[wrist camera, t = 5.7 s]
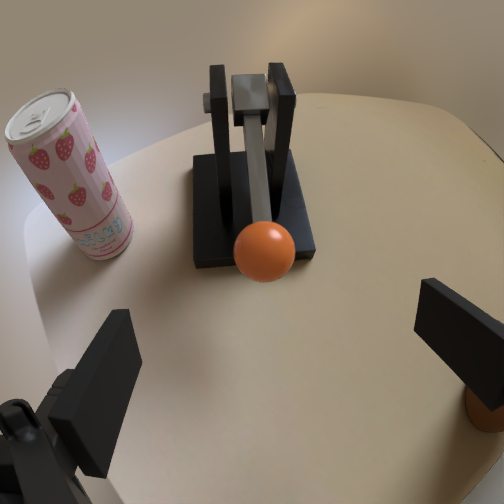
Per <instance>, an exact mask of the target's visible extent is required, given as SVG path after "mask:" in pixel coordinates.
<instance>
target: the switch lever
mask: <svg viewBox="0 0 504 504" xmlns="http://www.w3.org/2000/svg"><path fill="white" fill-rule="evenodd" d="M231 95H232V108H233V120H234V126H243V132H244V143H245V153H246V164H247V175H248V186H249V197H250V208H251V219H252V224H250V225H248V226H247V227H245V228H244V229H243V230H242V231H241V232H240V234H239V235H238V237H237V238H236V241H235V244H234V259H235V262H236V265H237V267H238V268H239V270H240V271H241V272H242V273H243V274H244V275H245V276H246V277H248V278H249V279H251V280H253V281H257V282H263V283H265V282H272V281H275V280H278V279H280V278H281V277H283V276H284V275H285V274H286V273H287V272H288V271H289V270H290V268H291V266H292V265H293V262H294V258H295V245H294V241H293V239H292V237H291V235H290V234H289V232H288V231H287V230H286V229H285V228H284V227H282V226H281V225H279V224H277V223H274V222H272V217H271V207H270V197H269V188H268V178H267V169H266V159H265V150H264V141H263V133H262V125H266V124H267V120H268V115H269V111H270V103H269V96H268V88H267V81H266V75H265V74H243V75H232V79H231Z"/></svg>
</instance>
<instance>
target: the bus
mask: <svg viewBox="0 0 504 504" xmlns="http://www.w3.org/2000/svg"><path fill="white" fill-rule="evenodd" d="M460 504H504V452H503V453H502V455H501V456H500V457H499V459H498V460H497V461H496V463H495V464H494V465H493V466H492V468H491V469H490V470H489V471H488V472H487V474H486V475H485V476H484V477H483V478H482V480H481V481H480V482H479V483H478V484H477V485H476V486H475V488H474V489H473V490H472V491H471V492H470V493H469V494H468V495H467V496H466V497H465V498H464V499H463V501H462V502H461V503H460Z"/></svg>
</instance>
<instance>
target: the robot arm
mask: <svg viewBox="0 0 504 504" xmlns="http://www.w3.org/2000/svg"><path fill="white" fill-rule="evenodd" d="M414 331H415V332H416V333H417V334H418V335H419V336H420V337H421V338H422V339H423V340H424V341H425V342H426V343H427V345H428V346H429V347H430V348H431V349H432V350H433V351H434V352H435V353H436V354H437V355H438V356H439V357H440V358H441V359H442V360H443V361H444V362H445V363H446V364H447V365H448V366H449V367H450V368H451V369H452V370H453V371H454V372H455V374H456V375H457V376H458V377H459V378H460V379H461V380H462V381H463V382H464V383H465V384H466V385H467V386H468V387H469V388H470V390H471V391H472V392H473V393H474V394H475V395H476V396H477V397H478V398H479V399H480V400H481V402H482V403H483V404H484V405H485V406H486V407H487V408H488V409H489V410H490V412H493V411H494V410H496V409H498V408H500V407H502V406H504V324H503V323H501V322H500V321H498V320H496V319H494V318H492V317H491V316H490V315H488V314H487V313H485V312H484V311H483V310H481V309H480V308H478V307H477V306H475V305H474V304H473V303H471V302H470V301H468V300H467V299H465V298H464V297H462V296H461V295H459V294H458V293H456V292H455V291H453V290H452V289H450V288H449V287H447V286H446V285H444V284H443V283H441V282H440V281H438V280H437V279H435V278H429V279H422V280H421V288H420V295H419V302H418V308H417V314H416V320H415V326H414ZM141 365H142V359H141V355H140V352H139V348H138V344H137V341H136V337H135V333H134V329H133V325H132V321H131V317H130V312H129V309H116V310H112V311H111V313H110V314H109V316H108V317H107V319H106V320H105V322H104V323H103V325H102V326H101V328H100V329H99V331H98V332H97V334H96V335H95V337H94V339H93V340H92V342H91V343H90V345H89V346H88V348H87V350H86V351H85V353H84V354H83V356H82V358H81V359H80V361H79V363H78V364H77V366H76V367H75V369H66V370H65V371H64V372H63V373H61V374H60V375H59V376H58V377H57V378H56V380H55V381H54V383H53V384H52V388H50V389H49V391H48V393H47V395H46V396H45V397H44V399H43V401H42V402H41V404H40V406H39V407H38V409H37V411H36V412H35V413H34V411H33V410H32V408H31V406H30V405H29V403H28V402H27V401H25V400H23V399H13V400H9V401H7V402H5V403H3V404H2V405H0V431H1V432H2V433H3V435H0V504H92V502H91V501H90V499H89V497H88V495H87V494H86V492H85V490H84V489H83V487H82V485H81V483H80V482H79V480H78V478H77V477H76V476H75V471H76V469H77V466H79V468H80V469H81V471H82V472H83V473H84V475H85V476H91V477H98V478H104V479H106V477H107V474H108V470H109V467H110V463H111V459H112V456H113V453H114V449H115V446H116V442H117V439H118V436H119V432H120V429H121V426H122V423H123V419H124V416H125V413H126V410H127V407H128V404H129V401H130V398H131V395H132V392H133V389H134V386H135V383H136V380H137V377H138V374H139V371H140V368H141Z"/></svg>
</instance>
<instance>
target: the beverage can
mask: <svg viewBox="0 0 504 504" xmlns="http://www.w3.org/2000/svg"><path fill="white" fill-rule="evenodd" d="M5 139H6V141H7V142H8V147H9V150H10V152H11V153H12V155H13V157H14V158H15V160H16V161H17V163H18V164H19V166H20V167H21V169H22V170H23V172H24V173H25V175H26V176H27V178H28V179H29V181H30V182H31V184H32V185H33V187H34V188H35V189H36V191H37V192H38V194H39V195H40V197H41V198H42V199H43V201H44V202H45V203H46V205H47V206H48V208H49V209H50V210H51V212H52V213H53V214H54V216H55V217H56V218H57V220H58V221H59V222H60V223H61V225H62V226H63V227H64V229H65V230H66V231H67V232H68V234H69V235H70V236H71V237H72V239H73V240H74V241H75V242H76V244H77V245H78V246H79V247H80V249H81V250H82V251H83V252H84V253H85V254H86V255H87V256H88V257H90V258H92V259H95V260H106V259H110V258H112V257H114V256H116V255H118V254H119V253H121V252H122V251H123V250H124V249H125V248H126V247H127V245H128V244H129V242H130V240H131V238H132V235H133V232H134V224H133V220H132V218H131V216H130V214H129V212H128V210H127V208H126V206H125V204H124V202H123V200H122V198H121V196H120V194H119V192H118V190H117V188H116V186H115V184H114V181H113V179H112V177H111V175H110V173H109V171H108V169H107V166H106V164H105V162H104V160H103V158H102V155H101V153H100V151H99V149H98V146H97V144H96V142H95V139H94V137H93V135H92V132H91V130H90V128H89V125H88V123H87V121H86V118H85V115H84V113H83V111H82V108H81V106H80V103H79V101H78V100H76V99H75V96H74V94H73V93H72V92H71V91H70V90H67V89H54V90H51V91H48V92H45V93H43V94H41V95H39V96H37V97H35V98H34V99H32V100H31V101H29V102H28V103H26V104H25V105H24V106H23V107H22V108H20V109H19V110H18V111H17V112H16V114H15V115H14V116H13V117H12V118H11V120H10V121H9V123H8V125H7V127H6V130H5Z"/></svg>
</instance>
